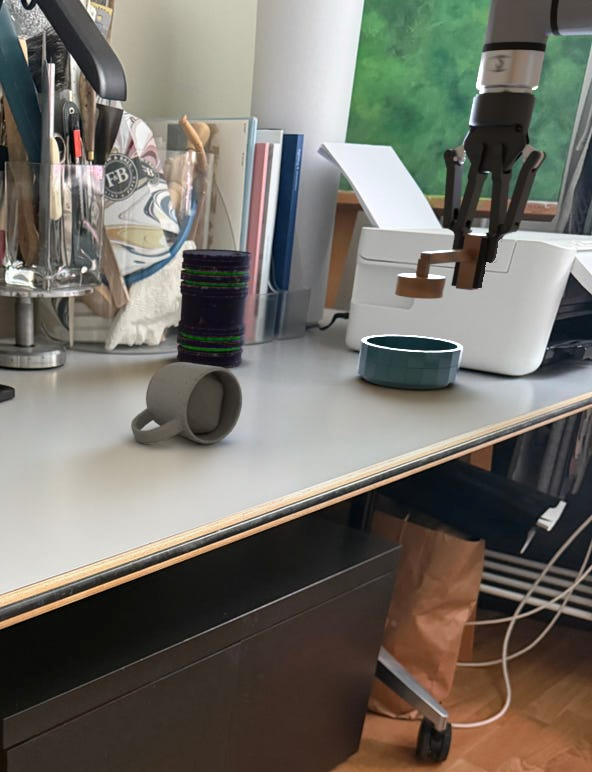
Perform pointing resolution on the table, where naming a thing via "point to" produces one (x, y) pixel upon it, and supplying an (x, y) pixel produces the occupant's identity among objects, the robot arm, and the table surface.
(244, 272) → the storage jar
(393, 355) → the bowl
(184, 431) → the ceramic mug
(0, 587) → the table surface
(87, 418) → the table surface
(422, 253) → the wooden crane toy
